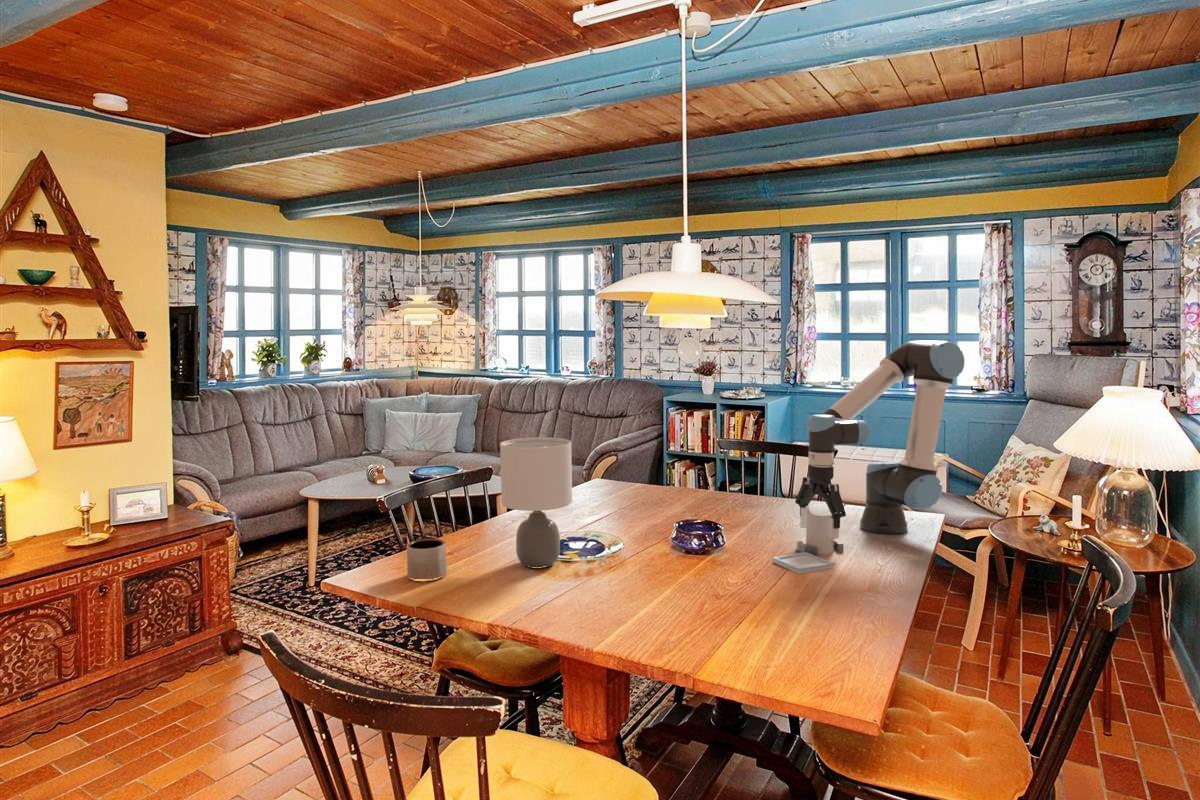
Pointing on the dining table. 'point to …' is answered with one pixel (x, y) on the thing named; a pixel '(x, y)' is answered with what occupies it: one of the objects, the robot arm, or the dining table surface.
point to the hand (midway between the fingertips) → (819, 533)
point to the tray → (802, 562)
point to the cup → (819, 530)
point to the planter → (426, 559)
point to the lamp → (536, 493)
